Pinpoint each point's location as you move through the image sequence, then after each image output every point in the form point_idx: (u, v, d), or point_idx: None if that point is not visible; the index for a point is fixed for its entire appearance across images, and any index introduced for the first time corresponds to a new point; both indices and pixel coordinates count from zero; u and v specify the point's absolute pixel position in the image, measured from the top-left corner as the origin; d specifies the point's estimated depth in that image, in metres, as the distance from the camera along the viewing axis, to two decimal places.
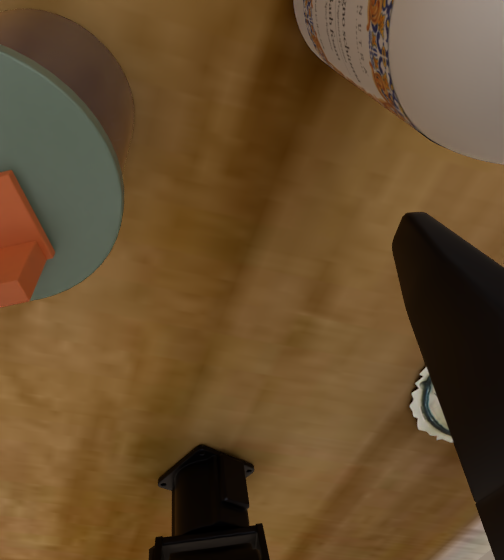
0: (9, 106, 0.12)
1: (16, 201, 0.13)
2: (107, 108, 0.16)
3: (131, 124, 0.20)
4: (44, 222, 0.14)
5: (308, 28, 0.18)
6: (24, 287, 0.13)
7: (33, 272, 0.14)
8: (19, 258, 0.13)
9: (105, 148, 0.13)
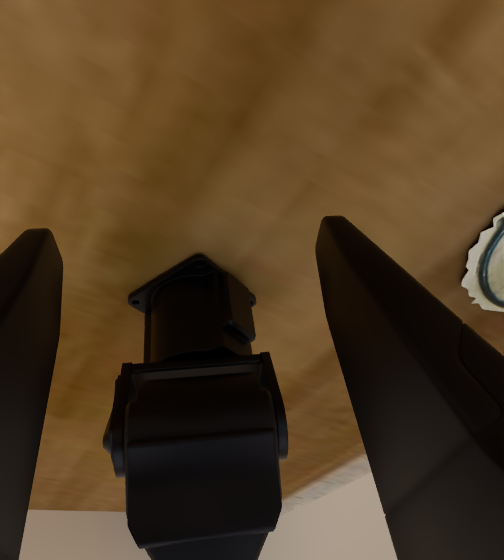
0: None
1: None
2: None
3: None
4: None
5: None
6: None
7: None
8: None
9: None
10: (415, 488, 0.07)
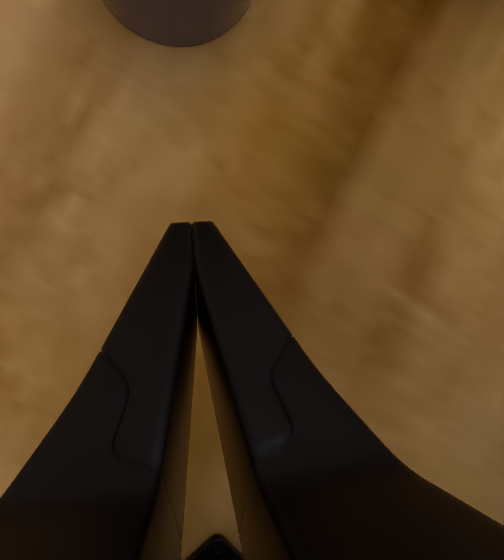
0: None
1: None
2: None
3: None
4: None
5: None
6: None
7: None
8: None
9: None
10: (243, 509, 0.06)
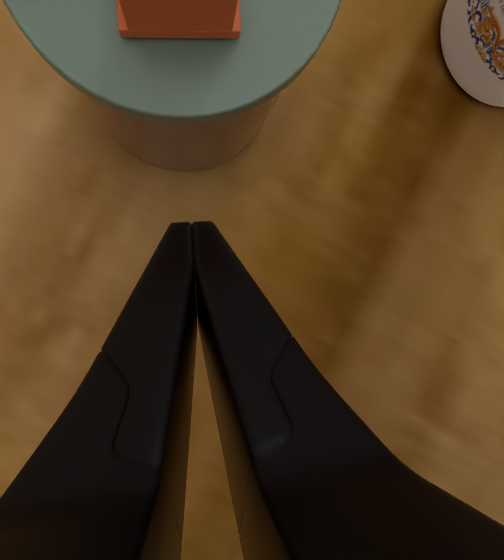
0: None
1: None
2: None
3: None
4: None
5: (473, 23, 0.19)
6: None
7: None
8: None
9: None
10: (244, 509, 0.06)
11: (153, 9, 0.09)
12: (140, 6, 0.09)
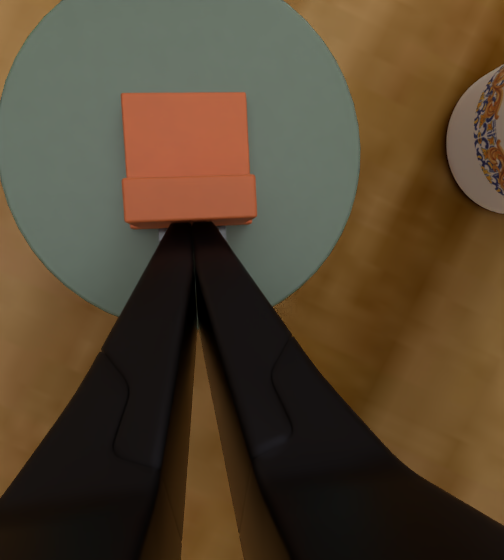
0: (272, 58, 0.11)
1: (241, 129, 0.10)
2: None
3: None
4: None
5: (479, 147, 0.19)
6: (255, 196, 0.08)
7: None
8: None
9: (356, 128, 0.11)
10: (243, 509, 0.06)
11: (166, 225, 0.09)
12: (153, 225, 0.09)
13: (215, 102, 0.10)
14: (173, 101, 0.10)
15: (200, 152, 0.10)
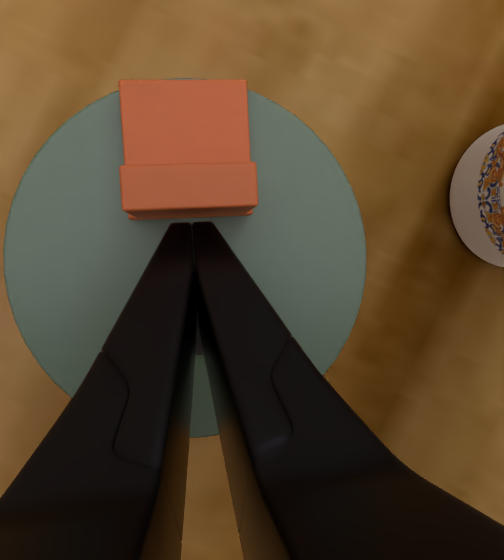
0: (278, 169, 0.11)
1: (241, 117, 0.10)
2: None
3: None
4: None
5: (483, 210, 0.19)
6: (256, 184, 0.08)
7: None
8: None
9: (362, 236, 0.11)
10: (243, 509, 0.06)
11: (165, 215, 0.09)
12: (151, 215, 0.09)
13: (214, 89, 0.10)
14: (172, 88, 0.10)
15: (200, 141, 0.10)
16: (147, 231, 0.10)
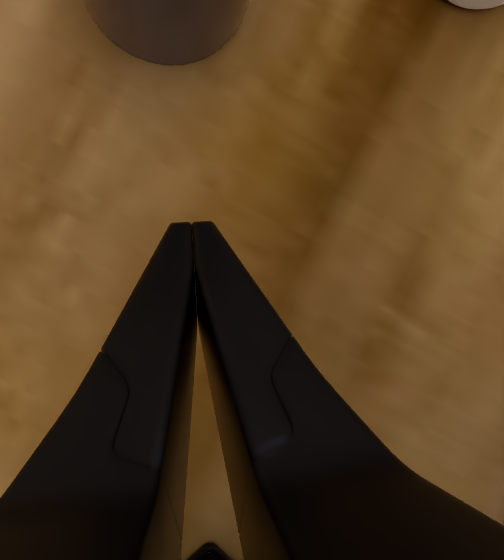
0: None
1: None
2: None
3: None
4: None
5: None
6: None
7: None
8: None
9: None
10: (243, 510, 0.06)
11: None
12: None
13: None
14: None
15: None
16: None
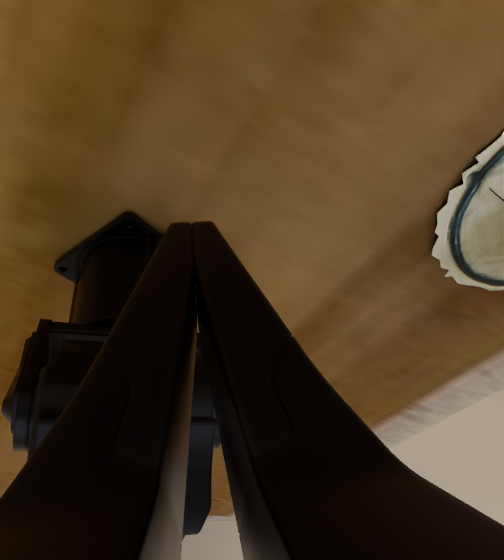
0: None
1: None
2: None
3: None
4: None
5: None
6: None
7: None
8: None
9: None
10: (243, 509, 0.06)
11: None
12: None
13: None
14: None
15: None
16: None
